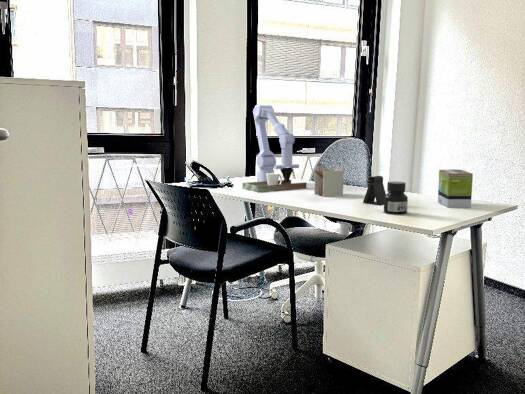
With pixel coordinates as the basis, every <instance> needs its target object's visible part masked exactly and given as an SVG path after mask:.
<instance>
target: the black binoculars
mask: <svg viewBox="0 0 525 394" xmlns="http://www.w3.org/2000/svg"><path fill="white" fill-rule="evenodd" d="M368 181H369V184H368V187H367V189H366V193H365V195H364V198H363V201H362V203H363V204H364V203H365V204H366V205H372V206H378V205H379V207H381V206H384V196H385V195H386V194H387V193H386V190H385V186H384V177H383V176H382V175H376V176H370V178H369V180H368ZM365 204H364V205H365Z"/></svg>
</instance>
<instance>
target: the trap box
mask: <svg viewBox="0 0 525 394" xmlns="http://www.w3.org/2000/svg"><path fill="white" fill-rule="evenodd" d="M307 183H308V182H296V183H292V179H289V182H285V181H284V179H282V183H281V184H280V179H278V184H277V185H268V183H267V181H263V182H257V181H252V182H251V181H250V182H242V189H243V190H247V191H250V192H255V193H265V192H278V191H279V192H280V191H290V190H301V189H302V190H304V189H307V188H308V187H307Z"/></svg>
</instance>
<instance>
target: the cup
mask: <svg viewBox="0 0 525 394" xmlns="http://www.w3.org/2000/svg"><path fill="white" fill-rule="evenodd" d="M266 177H267V183H268V185H277V184H278V180H280V184H281V183H282V180H283V178H282V176H281V174H280V173H279V172H273V173H266ZM279 178H280V179H279Z"/></svg>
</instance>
